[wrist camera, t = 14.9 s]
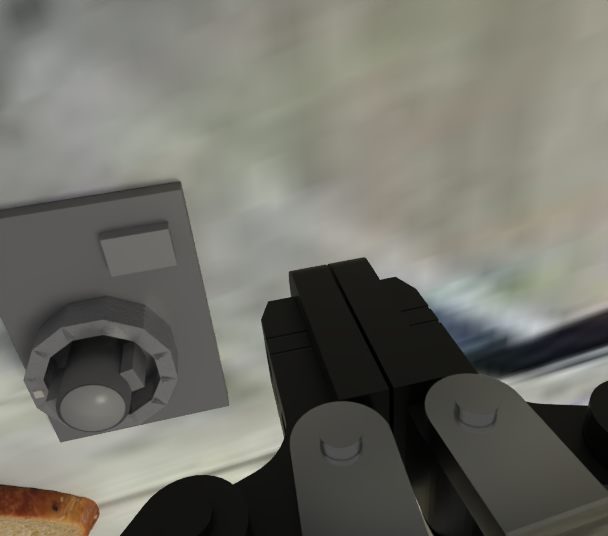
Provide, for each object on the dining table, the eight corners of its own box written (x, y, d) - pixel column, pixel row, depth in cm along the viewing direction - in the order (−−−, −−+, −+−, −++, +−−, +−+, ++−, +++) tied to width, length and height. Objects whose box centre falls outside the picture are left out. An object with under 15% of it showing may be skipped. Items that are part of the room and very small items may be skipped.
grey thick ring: (159, 285, 38) (158, 310, 36) (187, 387, 44) (188, 415, 41) (14, 312, 37) (2, 340, 34) (61, 413, 42) (53, 445, 40)
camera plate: (180, 181, 36) (181, 196, 34) (227, 393, 47) (230, 415, 45) (-36, 215, 35) (-50, 234, 32) (63, 428, 45) (57, 453, 43)
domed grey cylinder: (127, 312, 39) (120, 367, 34) (155, 356, 41) (152, 414, 36) (48, 343, 39) (28, 403, 34) (80, 385, 41) (67, 447, 36)
